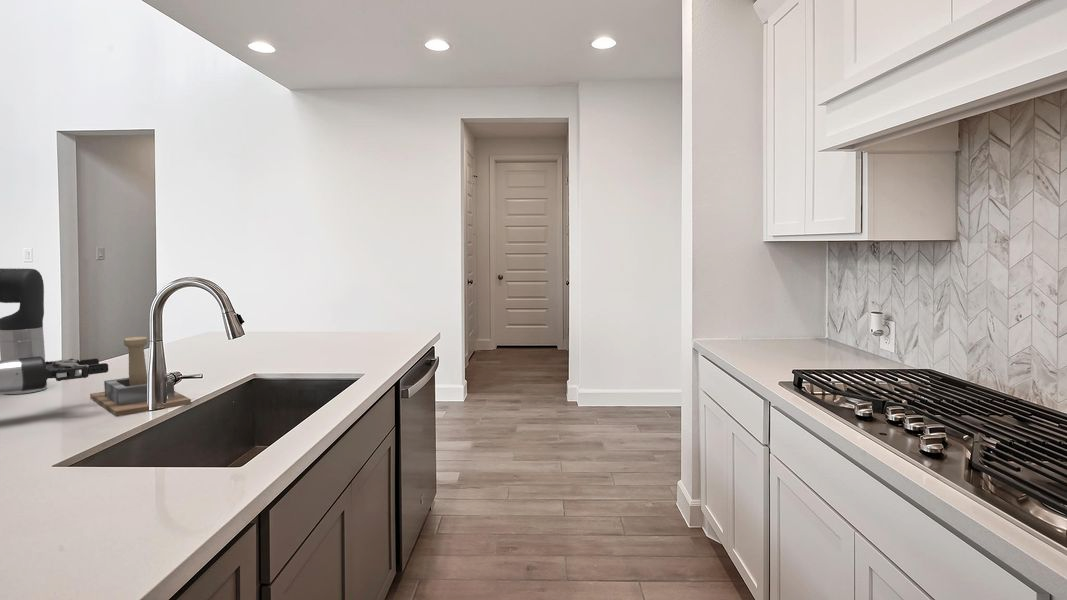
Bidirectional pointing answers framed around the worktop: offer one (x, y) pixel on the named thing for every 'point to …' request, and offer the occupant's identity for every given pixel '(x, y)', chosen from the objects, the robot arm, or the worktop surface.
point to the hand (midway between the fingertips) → (103, 365)
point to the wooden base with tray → (133, 397)
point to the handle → (136, 360)
